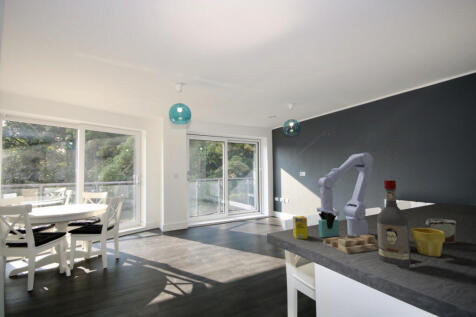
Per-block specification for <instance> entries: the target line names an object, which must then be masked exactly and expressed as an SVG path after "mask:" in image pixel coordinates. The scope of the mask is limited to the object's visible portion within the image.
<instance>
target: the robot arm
mask: <svg viewBox="0 0 476 317" xmlns="http://www.w3.org/2000/svg"><path fill="white" fill-rule="evenodd" d="M373 162H374V158H373V156H372V155H371V153H370V152H361V153H353V154H352V155H350V156H349V157H348V159H347V160H345V161H344V163H342V164H341V165H340V166H339V167H338V168H337V167H334V168H331V171H330V172H329V173H326V174H325V175H324V177H321V178H319V180H318V182H317V185H318V187H319V191H320V207H316V212H319V213H318V216H319V218H320V220H326V221H327V227H328V229H332V227H333V223H334V220H335V219H336V218H337V217H339V216H340V213H339V212H340V211H338V210H335V209H334V201H333V188H334V187H335V185H336V183H337V182H338V181H339V180H341V179H342V178H343V177H344V173H346V172H347V171H348V170H350V168H352V167H354V168H355V169H356V170H358V172H359V174H358V176H357V179H356V183H355V187H354V190H353V194H352V196H351V199H350V200H348V201H347V202H346V205H345V206H344V207H343V214H344V216H345V217H346V224H347V234H348V235H347V236H352V235H356V236H357V237H360V235H365V234H368V235H369V225H368V221H367V220H366V219H365V218H366V215H367V214H366V208H367V207H366V205H365V203H364V201H365V196H366V193H367V190H368V187H369V183H370V179H371V177H372V172H373Z"/></svg>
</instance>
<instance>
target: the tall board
mask: <svg viewBox="0 0 476 317" xmlns="http://www.w3.org/2000/svg"><path fill="white" fill-rule="evenodd" d="M317 222H318V237H320V238H332V237H340V230H339V219H336V218H335V220H334V223H333V227H332V229H328V227H327V221H326V220H321V219H318V220H317Z"/></svg>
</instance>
